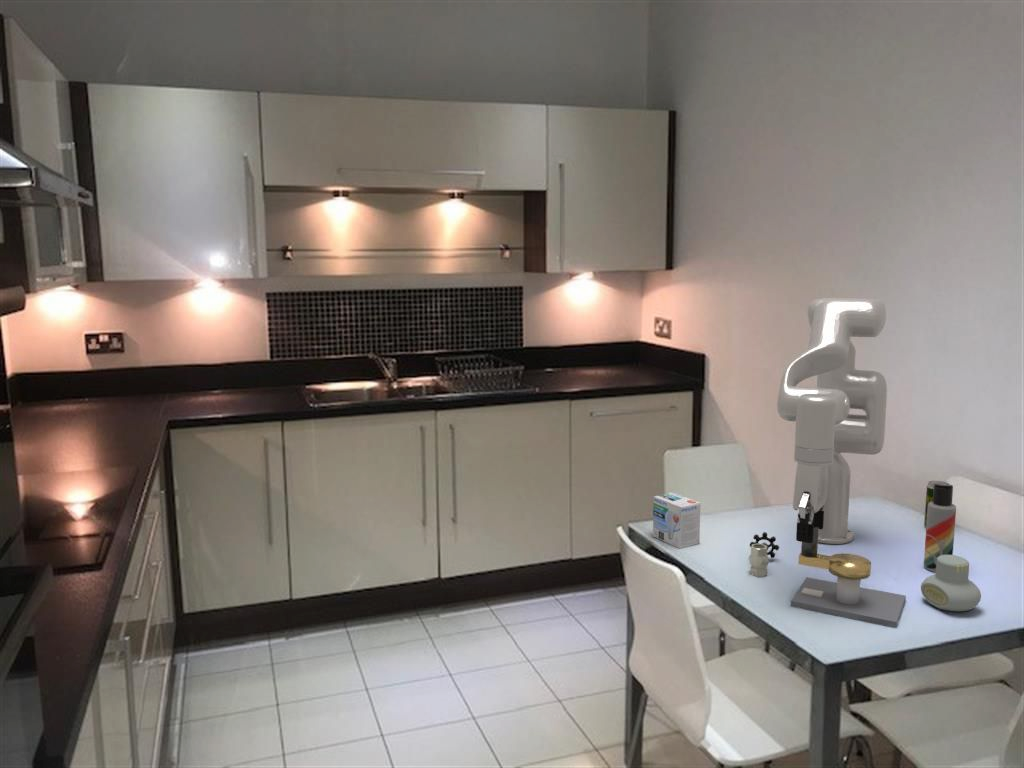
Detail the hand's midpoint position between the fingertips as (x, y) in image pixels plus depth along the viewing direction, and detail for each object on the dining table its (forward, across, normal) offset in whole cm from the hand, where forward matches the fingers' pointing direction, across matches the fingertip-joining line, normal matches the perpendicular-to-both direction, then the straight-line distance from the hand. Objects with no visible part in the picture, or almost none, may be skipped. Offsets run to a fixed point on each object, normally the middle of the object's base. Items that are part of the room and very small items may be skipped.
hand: (809, 534), depth 177 cm
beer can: (+13, -60, +19) cm, 64 cm away
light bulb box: (+14, -20, -36) cm, 44 cm away
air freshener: (+14, -11, +26) cm, 31 cm away
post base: (+14, -2, +8) cm, 16 cm away
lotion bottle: (+14, -31, +22) cm, 40 cm away
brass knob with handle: (+7, -1, +5) cm, 8 cm away
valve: (+14, -12, -13) cm, 23 cm away
